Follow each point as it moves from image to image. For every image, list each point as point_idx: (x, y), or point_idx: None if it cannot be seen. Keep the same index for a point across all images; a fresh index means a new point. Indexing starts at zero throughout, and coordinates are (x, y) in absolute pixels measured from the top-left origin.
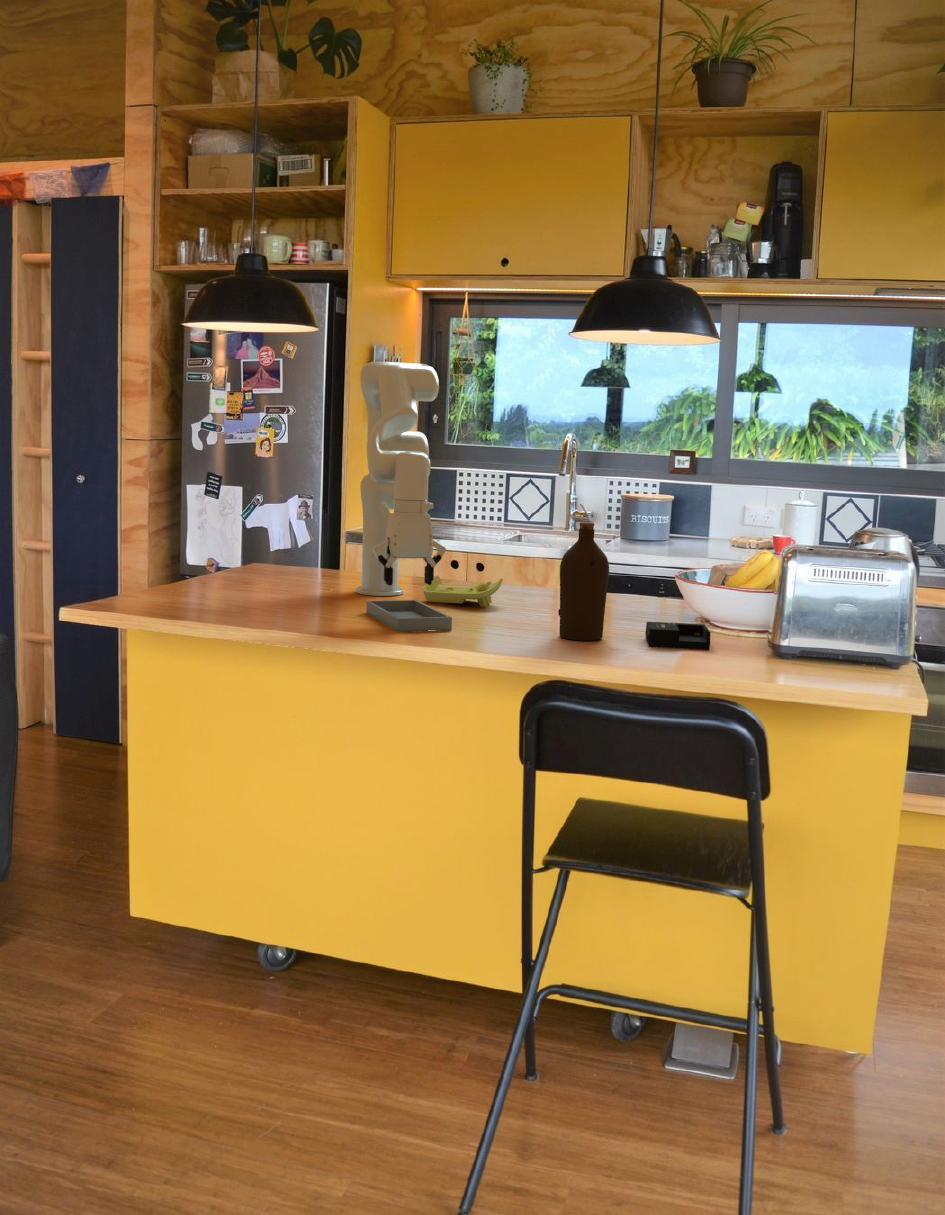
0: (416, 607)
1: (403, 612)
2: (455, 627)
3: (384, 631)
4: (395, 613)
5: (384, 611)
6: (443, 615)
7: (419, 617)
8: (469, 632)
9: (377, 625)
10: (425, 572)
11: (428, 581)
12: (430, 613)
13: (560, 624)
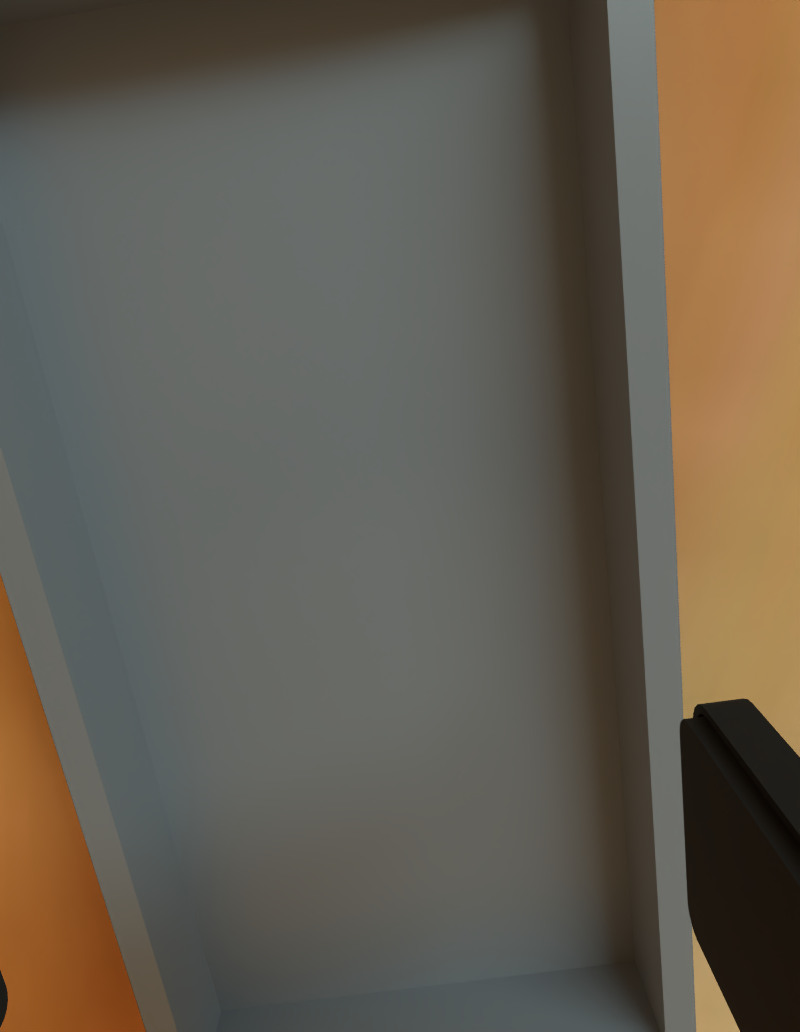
0: (581, 12)
1: (383, 124)
2: None
3: (105, 969)
4: (271, 208)
5: (65, 775)
6: (657, 949)
7: (506, 483)
8: None
9: None
10: (786, 923)
11: (710, 958)
12: (621, 573)
13: None
